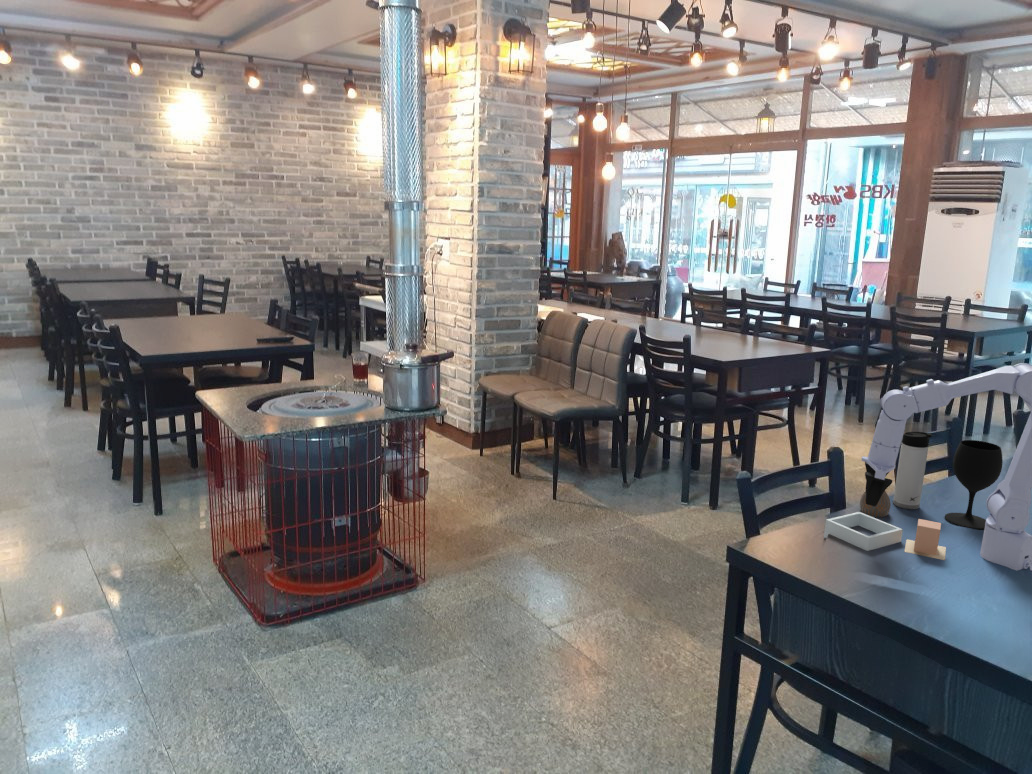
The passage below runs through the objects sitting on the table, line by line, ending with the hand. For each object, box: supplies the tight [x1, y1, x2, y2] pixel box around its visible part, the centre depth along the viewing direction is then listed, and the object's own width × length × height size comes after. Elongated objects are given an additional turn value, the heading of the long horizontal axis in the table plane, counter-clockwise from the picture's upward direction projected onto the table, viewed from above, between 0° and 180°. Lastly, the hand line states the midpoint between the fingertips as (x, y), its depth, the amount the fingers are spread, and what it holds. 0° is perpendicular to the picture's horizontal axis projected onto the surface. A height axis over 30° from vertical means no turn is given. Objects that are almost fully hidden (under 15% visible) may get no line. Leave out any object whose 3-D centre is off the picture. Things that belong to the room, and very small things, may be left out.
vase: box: [859, 490, 891, 518], centre depth 198 cm, size 7×7×9 cm
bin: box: [823, 511, 903, 552], centre depth 183 cm, size 12×12×4 cm
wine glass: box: [943, 439, 1004, 531], centre depth 196 cm, size 10×10×20 cm
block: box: [914, 518, 942, 555], centre depth 177 cm, size 4×4×6 cm
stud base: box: [904, 539, 947, 561], centre depth 177 cm, size 8×8×5 cm
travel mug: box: [892, 431, 933, 510], centre depth 206 cm, size 6×7×20 cm
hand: (870, 499), depth 181 cm, fingers open, 7 cm apart
